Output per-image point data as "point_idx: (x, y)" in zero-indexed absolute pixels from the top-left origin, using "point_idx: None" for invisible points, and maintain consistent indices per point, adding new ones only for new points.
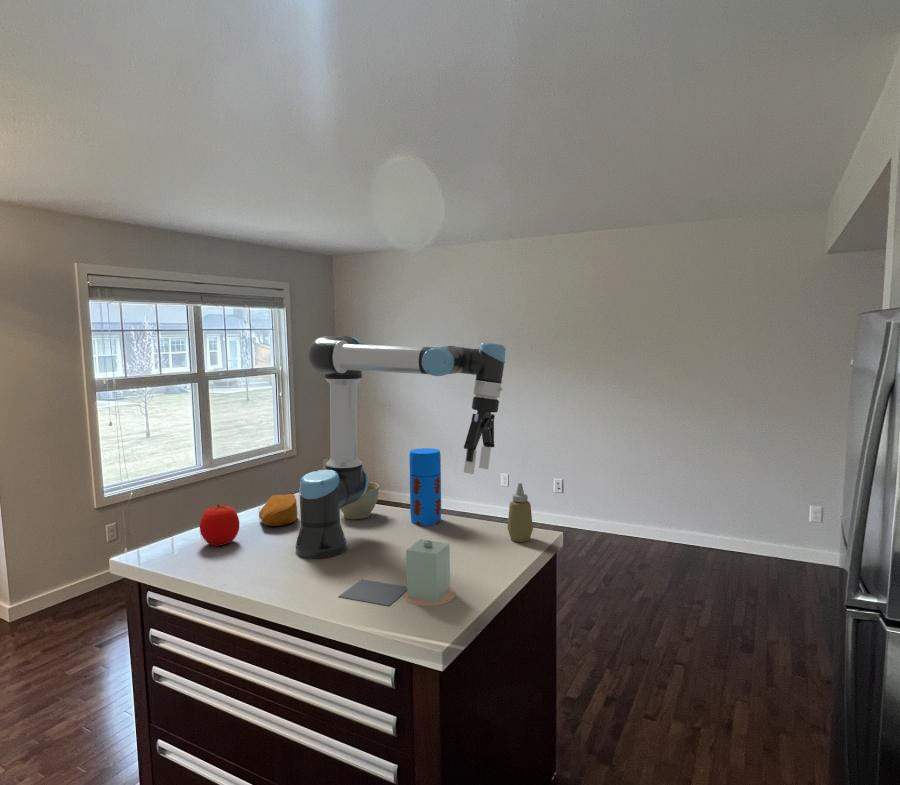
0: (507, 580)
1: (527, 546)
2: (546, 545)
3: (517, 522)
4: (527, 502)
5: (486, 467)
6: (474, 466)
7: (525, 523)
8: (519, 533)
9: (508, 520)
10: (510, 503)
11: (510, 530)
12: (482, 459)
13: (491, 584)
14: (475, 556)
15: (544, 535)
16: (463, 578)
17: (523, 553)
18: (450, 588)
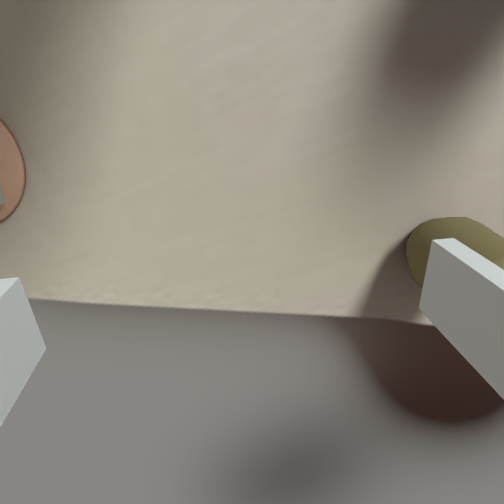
0: (142, 298)
1: (380, 278)
2: (401, 318)
3: (425, 271)
4: None
5: (428, 307)
6: (8, 400)
7: None
8: (408, 264)
9: (452, 232)
10: (493, 261)
11: (419, 236)
12: (482, 304)
13: (103, 273)
14: (256, 171)
15: None
16: (99, 199)
17: (324, 283)
18: (13, 200)
